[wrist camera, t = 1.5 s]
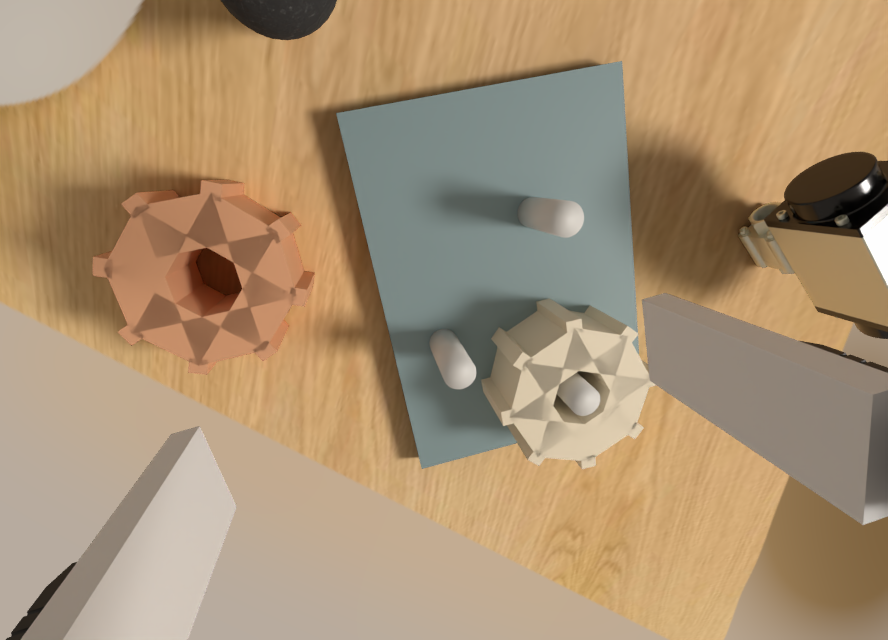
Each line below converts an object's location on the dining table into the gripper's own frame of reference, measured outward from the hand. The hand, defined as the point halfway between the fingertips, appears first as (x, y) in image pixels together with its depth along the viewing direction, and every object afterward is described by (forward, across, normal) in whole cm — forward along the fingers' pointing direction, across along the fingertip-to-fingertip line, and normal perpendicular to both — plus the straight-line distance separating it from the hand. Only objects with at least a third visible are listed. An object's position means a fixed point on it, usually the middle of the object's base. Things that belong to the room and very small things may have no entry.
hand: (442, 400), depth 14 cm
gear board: (+20, +8, -2) cm, 21 cm away
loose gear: (+20, -10, +3) cm, 22 cm away
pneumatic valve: (+20, +29, -4) cm, 35 cm away
